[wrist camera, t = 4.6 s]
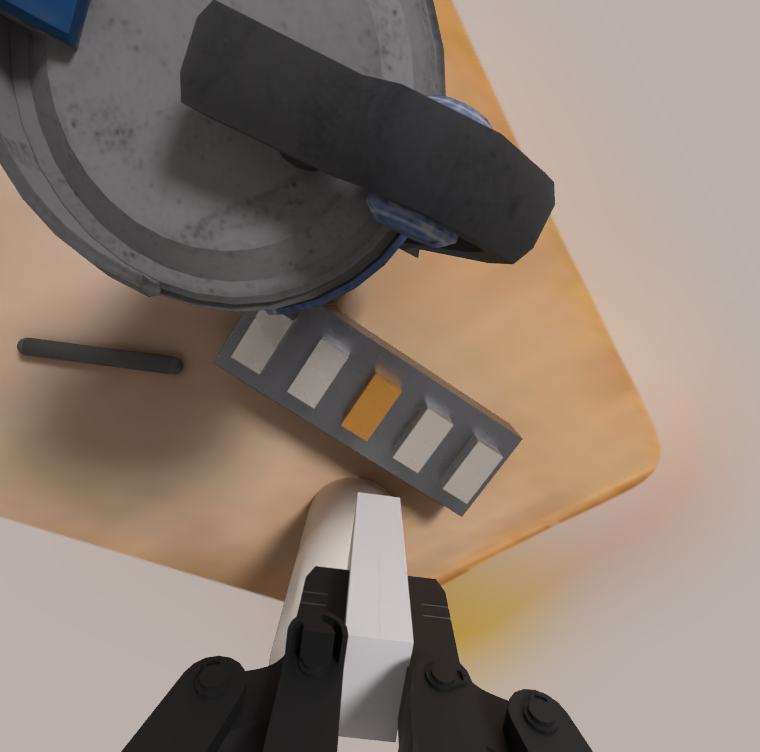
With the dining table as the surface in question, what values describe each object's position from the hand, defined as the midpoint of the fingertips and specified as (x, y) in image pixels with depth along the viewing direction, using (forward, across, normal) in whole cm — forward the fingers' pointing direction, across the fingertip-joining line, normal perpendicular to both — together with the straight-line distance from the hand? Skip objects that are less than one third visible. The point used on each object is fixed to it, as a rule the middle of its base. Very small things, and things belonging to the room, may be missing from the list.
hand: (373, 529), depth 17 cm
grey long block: (+19, 0, 0) cm, 19 cm away
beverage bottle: (+18, -4, +12) cm, 23 cm away
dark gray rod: (+18, -19, 0) cm, 27 cm away
